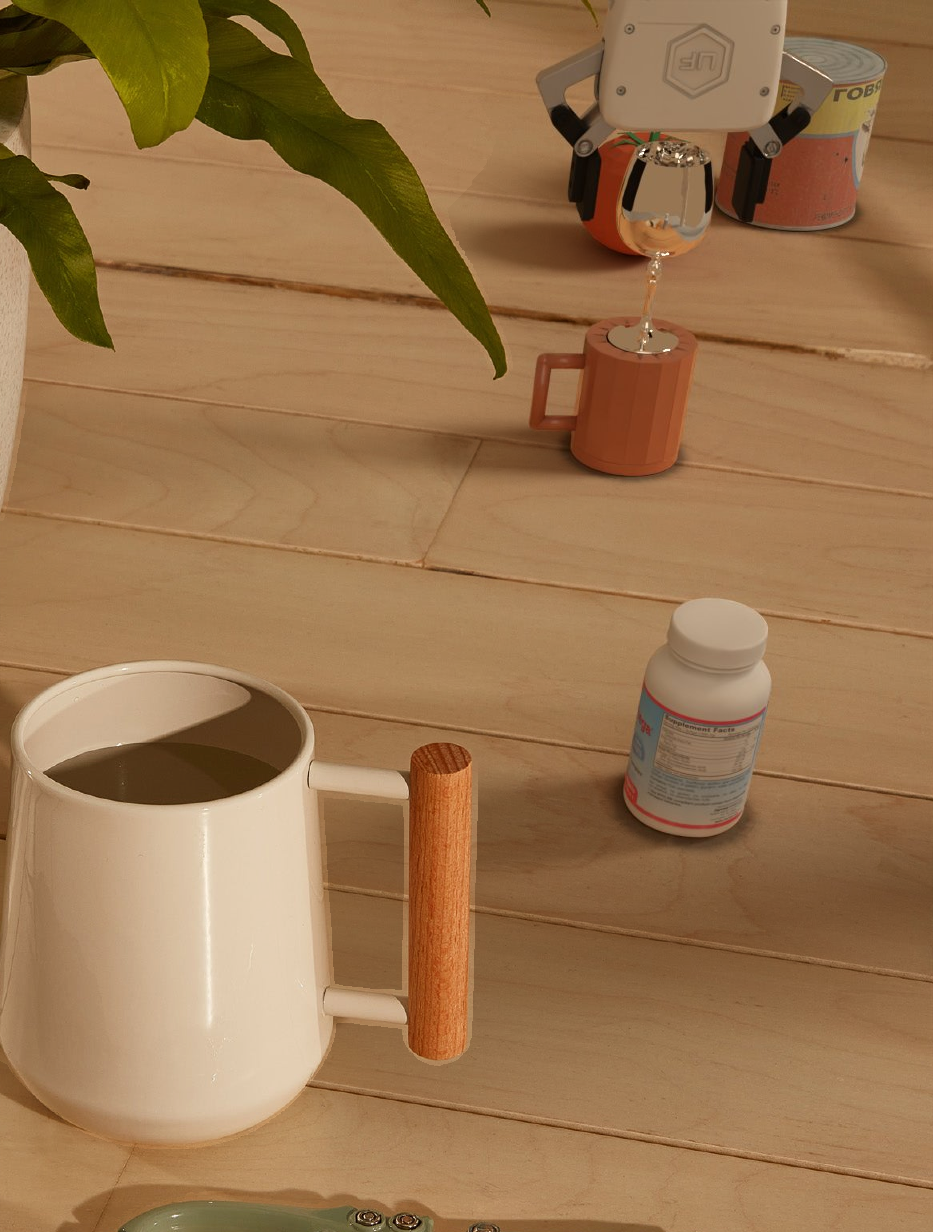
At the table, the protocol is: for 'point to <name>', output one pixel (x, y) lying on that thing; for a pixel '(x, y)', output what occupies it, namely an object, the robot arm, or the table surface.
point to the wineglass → (662, 223)
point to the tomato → (616, 185)
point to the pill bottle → (700, 720)
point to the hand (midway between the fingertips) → (662, 213)
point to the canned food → (816, 142)
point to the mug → (621, 400)
